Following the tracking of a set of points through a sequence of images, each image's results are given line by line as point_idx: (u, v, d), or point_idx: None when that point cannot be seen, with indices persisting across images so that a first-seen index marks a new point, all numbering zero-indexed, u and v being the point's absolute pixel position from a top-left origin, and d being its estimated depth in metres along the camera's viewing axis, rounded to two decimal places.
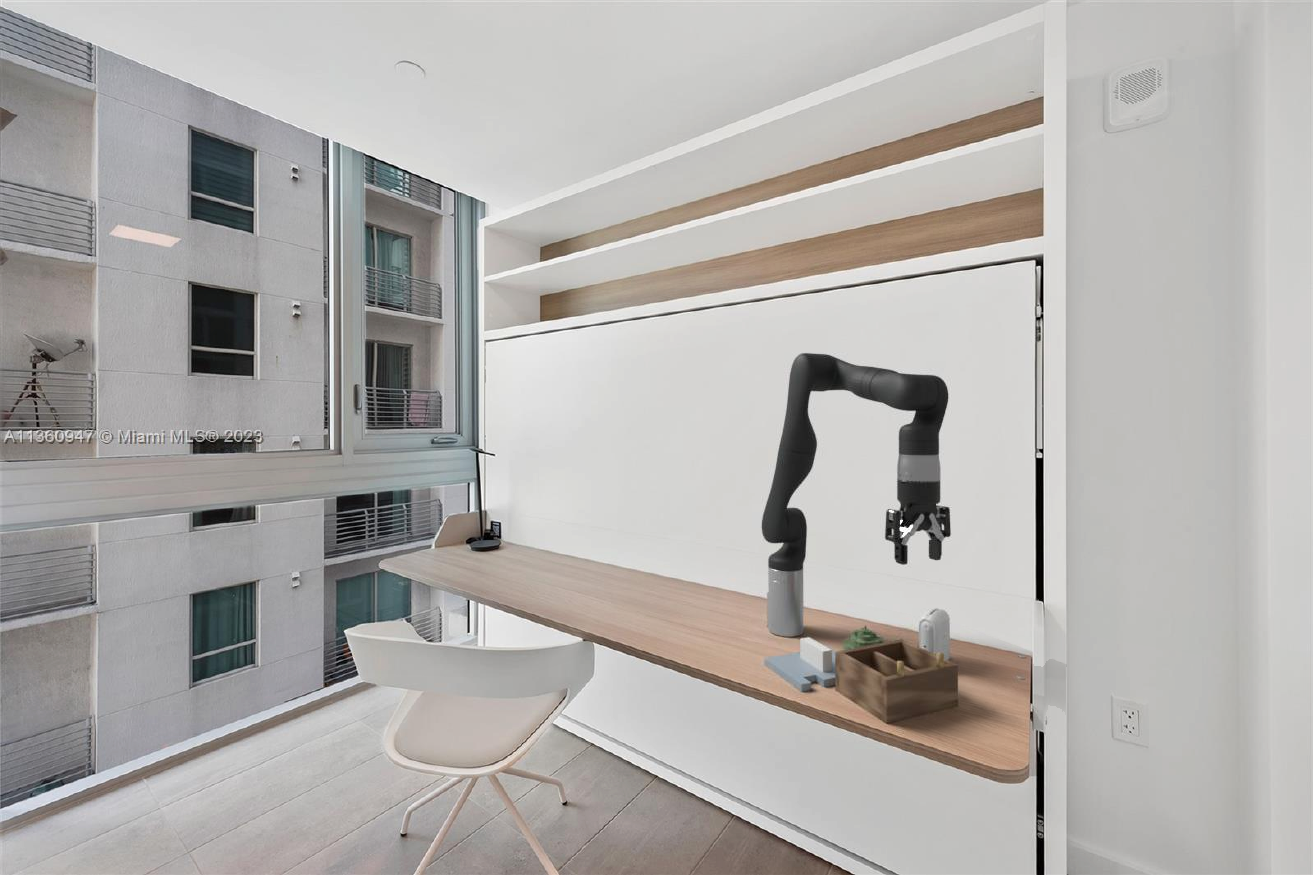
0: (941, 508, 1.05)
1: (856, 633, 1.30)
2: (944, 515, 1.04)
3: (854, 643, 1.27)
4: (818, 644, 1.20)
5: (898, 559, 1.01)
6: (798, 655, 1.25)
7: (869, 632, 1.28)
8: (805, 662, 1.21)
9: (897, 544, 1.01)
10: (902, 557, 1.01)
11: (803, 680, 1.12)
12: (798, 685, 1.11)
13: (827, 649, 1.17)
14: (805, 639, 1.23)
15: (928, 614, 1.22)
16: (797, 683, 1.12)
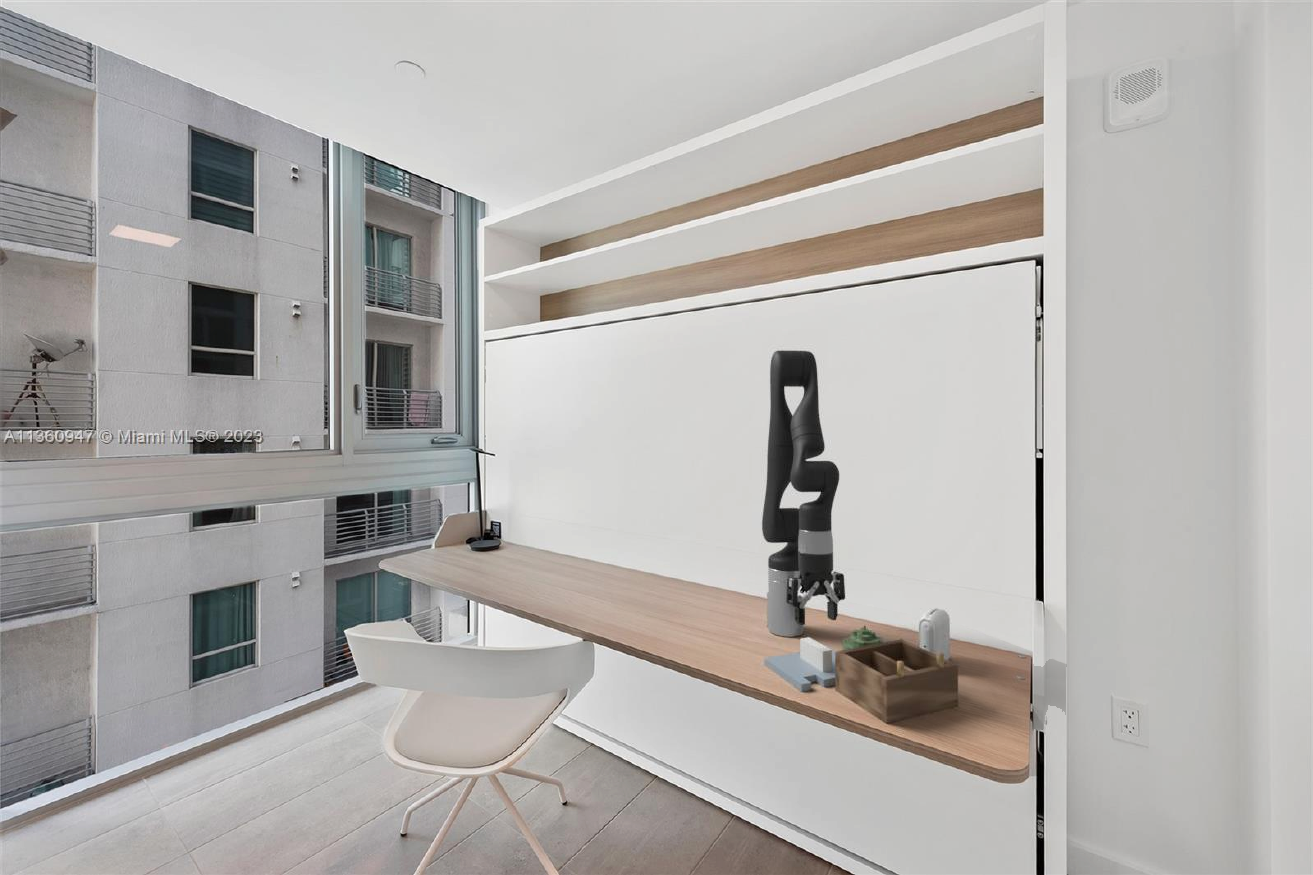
0: (837, 574, 1.22)
1: (855, 633, 1.30)
2: (839, 581, 1.21)
3: (853, 643, 1.27)
4: (818, 644, 1.20)
5: (797, 620, 1.18)
6: (798, 655, 1.25)
7: (868, 632, 1.28)
8: (805, 662, 1.21)
9: (796, 607, 1.18)
10: (801, 618, 1.18)
11: (803, 680, 1.12)
12: (798, 685, 1.11)
13: (827, 649, 1.17)
14: (805, 639, 1.23)
15: (928, 614, 1.22)
16: (797, 683, 1.12)
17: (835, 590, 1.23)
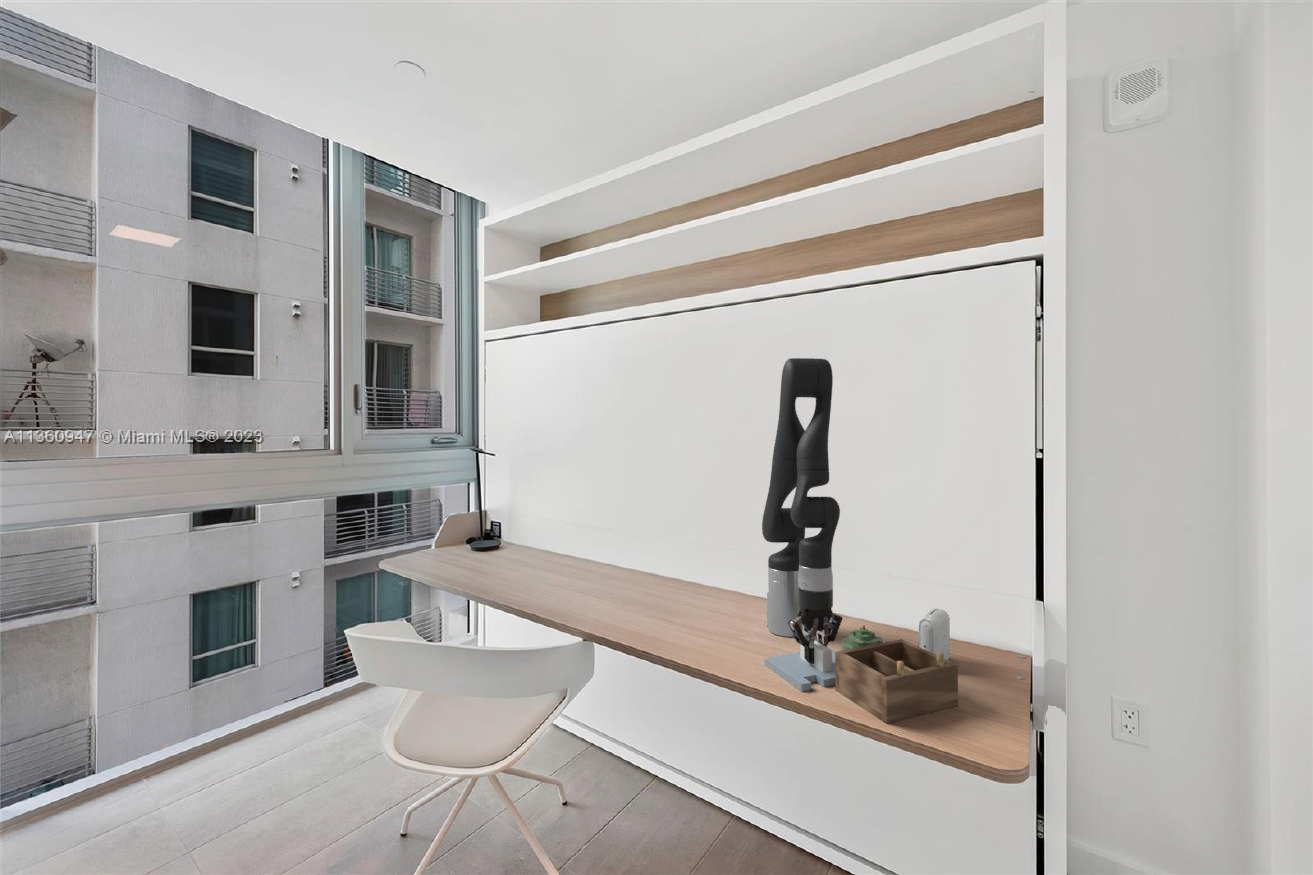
0: (836, 615, 1.22)
1: (854, 633, 1.30)
2: (836, 621, 1.21)
3: (852, 643, 1.27)
4: (818, 644, 1.20)
5: (807, 659, 1.19)
6: (798, 655, 1.25)
7: (867, 632, 1.28)
8: (805, 662, 1.21)
9: (806, 647, 1.19)
10: (810, 657, 1.19)
11: (803, 680, 1.12)
12: (798, 685, 1.11)
13: (827, 649, 1.17)
14: None
15: (928, 614, 1.22)
16: (797, 683, 1.12)
17: None
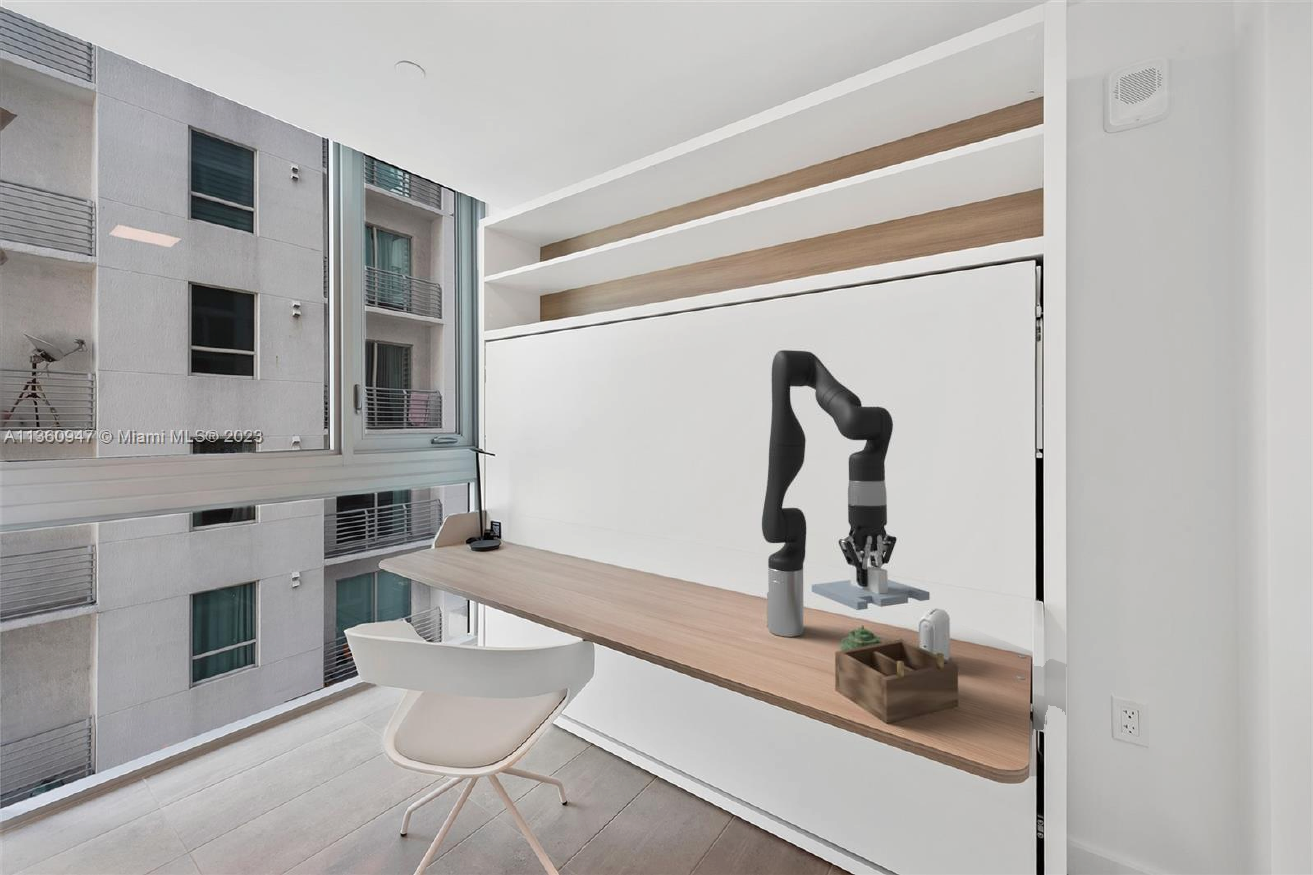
0: (889, 536, 1.13)
1: (853, 633, 1.30)
2: (889, 542, 1.12)
3: (851, 643, 1.27)
4: (871, 566, 1.11)
5: (859, 582, 1.10)
6: (848, 582, 1.16)
7: (866, 632, 1.28)
8: (857, 587, 1.12)
9: (858, 568, 1.10)
10: (863, 580, 1.10)
11: (858, 599, 1.03)
12: (853, 604, 1.02)
13: (882, 569, 1.08)
14: None
15: (928, 614, 1.22)
16: (852, 602, 1.03)
17: None
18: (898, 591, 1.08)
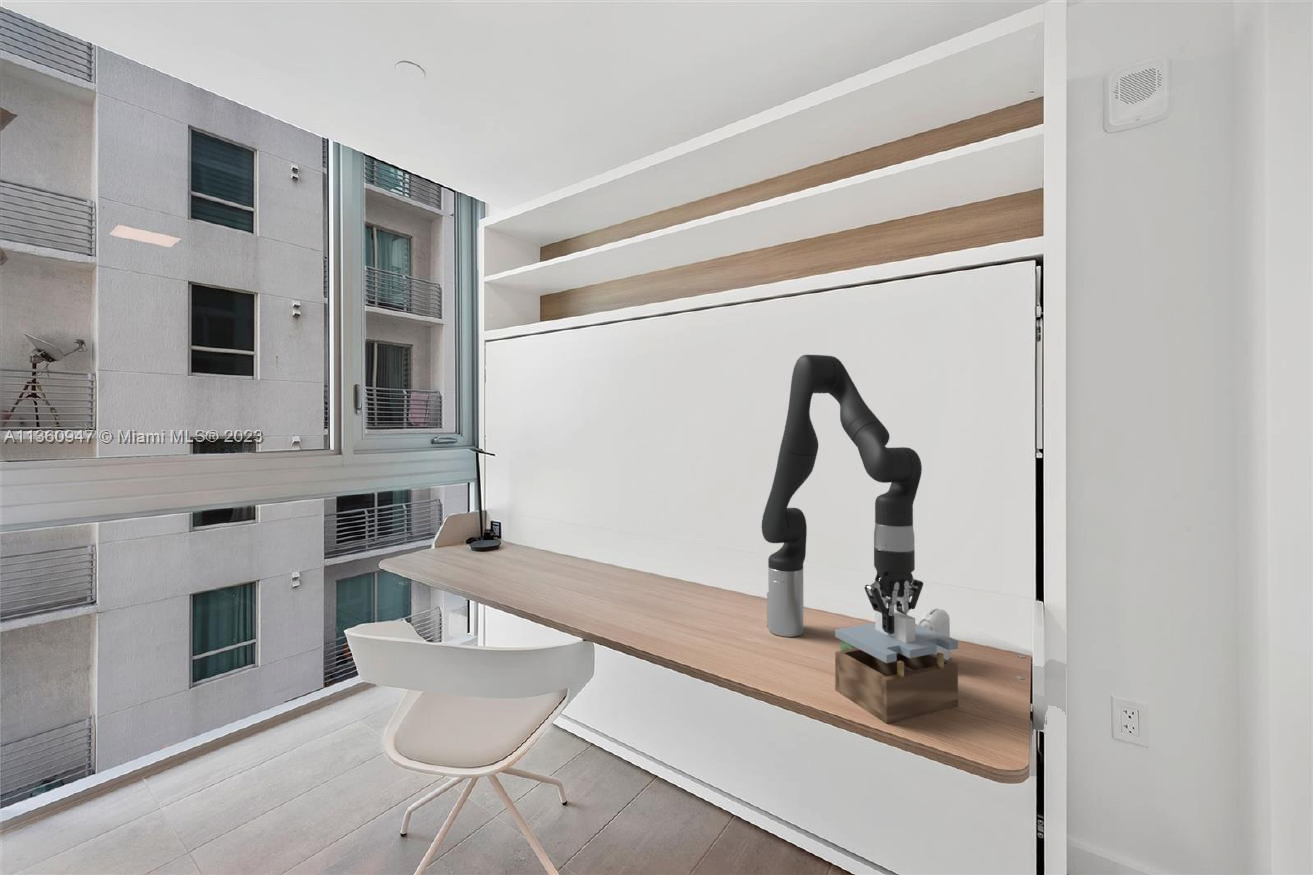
0: (916, 580, 1.09)
1: None
2: (916, 587, 1.08)
3: None
4: (898, 613, 1.08)
5: (885, 629, 1.07)
6: (872, 626, 1.13)
7: None
8: (882, 633, 1.09)
9: (884, 614, 1.07)
10: (890, 627, 1.06)
11: (886, 650, 1.00)
12: (882, 656, 0.99)
13: (910, 617, 1.05)
14: None
15: (928, 614, 1.22)
16: (881, 654, 0.99)
17: None
18: (926, 639, 1.05)
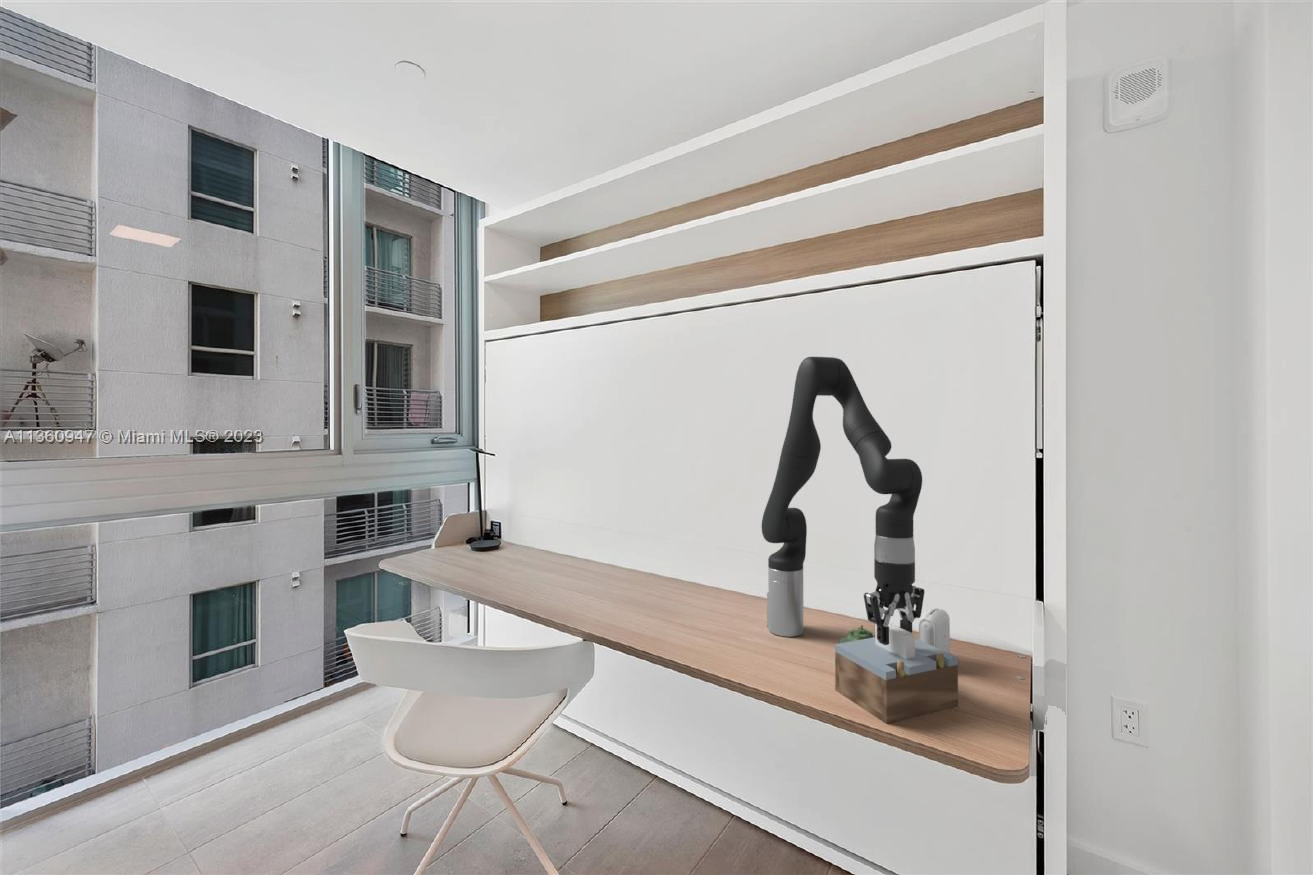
0: (917, 589, 1.09)
1: (852, 633, 1.30)
2: (918, 596, 1.08)
3: None
4: (898, 628, 1.08)
5: (880, 640, 1.06)
6: (872, 641, 1.13)
7: (865, 632, 1.28)
8: (882, 648, 1.09)
9: (879, 625, 1.06)
10: (884, 637, 1.06)
11: (886, 667, 1.00)
12: (881, 673, 0.99)
13: (909, 633, 1.05)
14: None
15: (928, 614, 1.22)
16: (880, 671, 0.99)
17: None
18: (925, 655, 1.05)
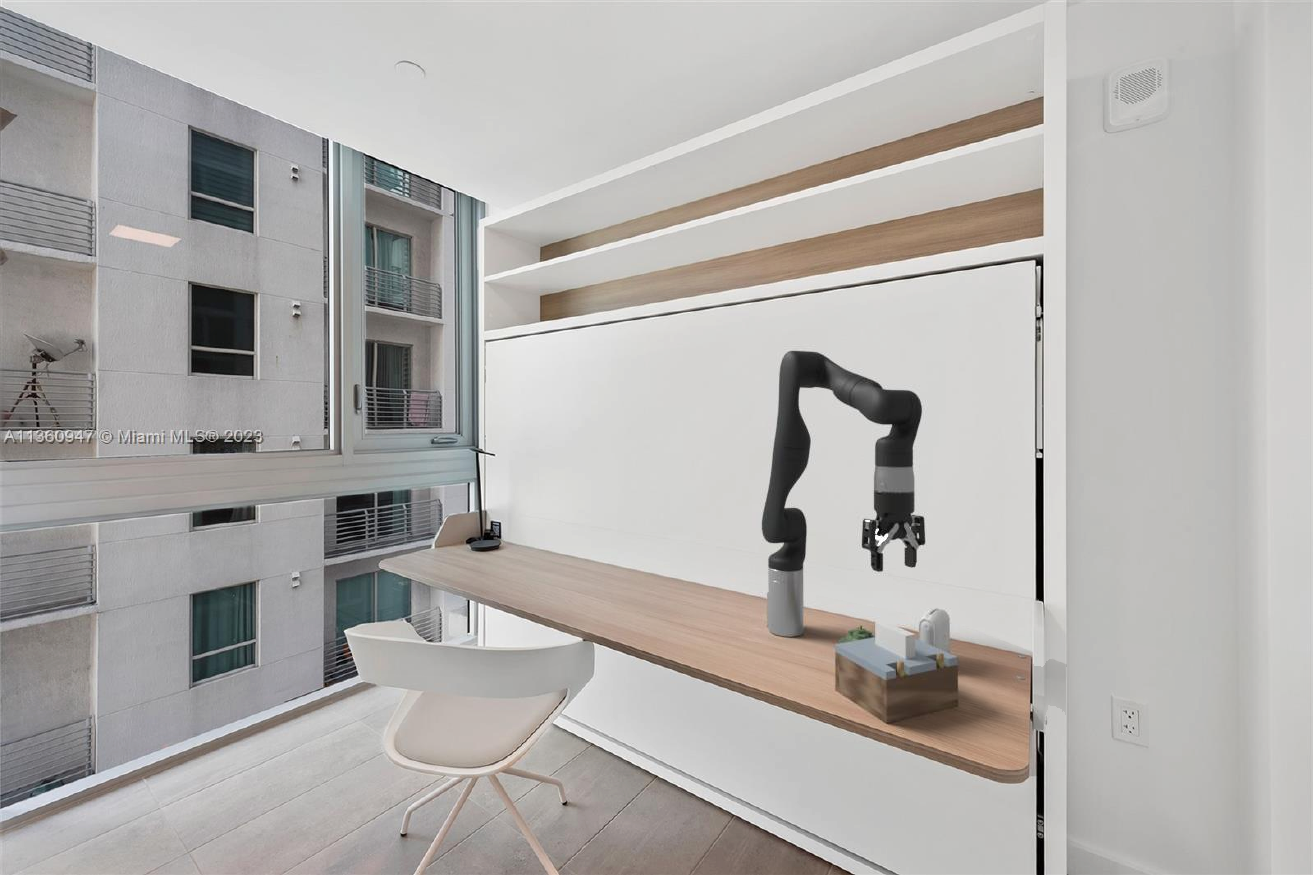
0: (916, 517, 1.09)
1: (852, 632, 1.30)
2: (919, 524, 1.09)
3: None
4: (898, 628, 1.08)
5: (874, 566, 1.06)
6: (872, 641, 1.13)
7: (865, 632, 1.28)
8: (882, 648, 1.09)
9: (873, 552, 1.06)
10: (878, 564, 1.06)
11: (886, 667, 1.00)
12: (881, 673, 0.99)
13: (909, 633, 1.05)
14: (881, 623, 1.11)
15: (928, 614, 1.22)
16: (880, 671, 0.99)
17: None
18: (925, 655, 1.05)
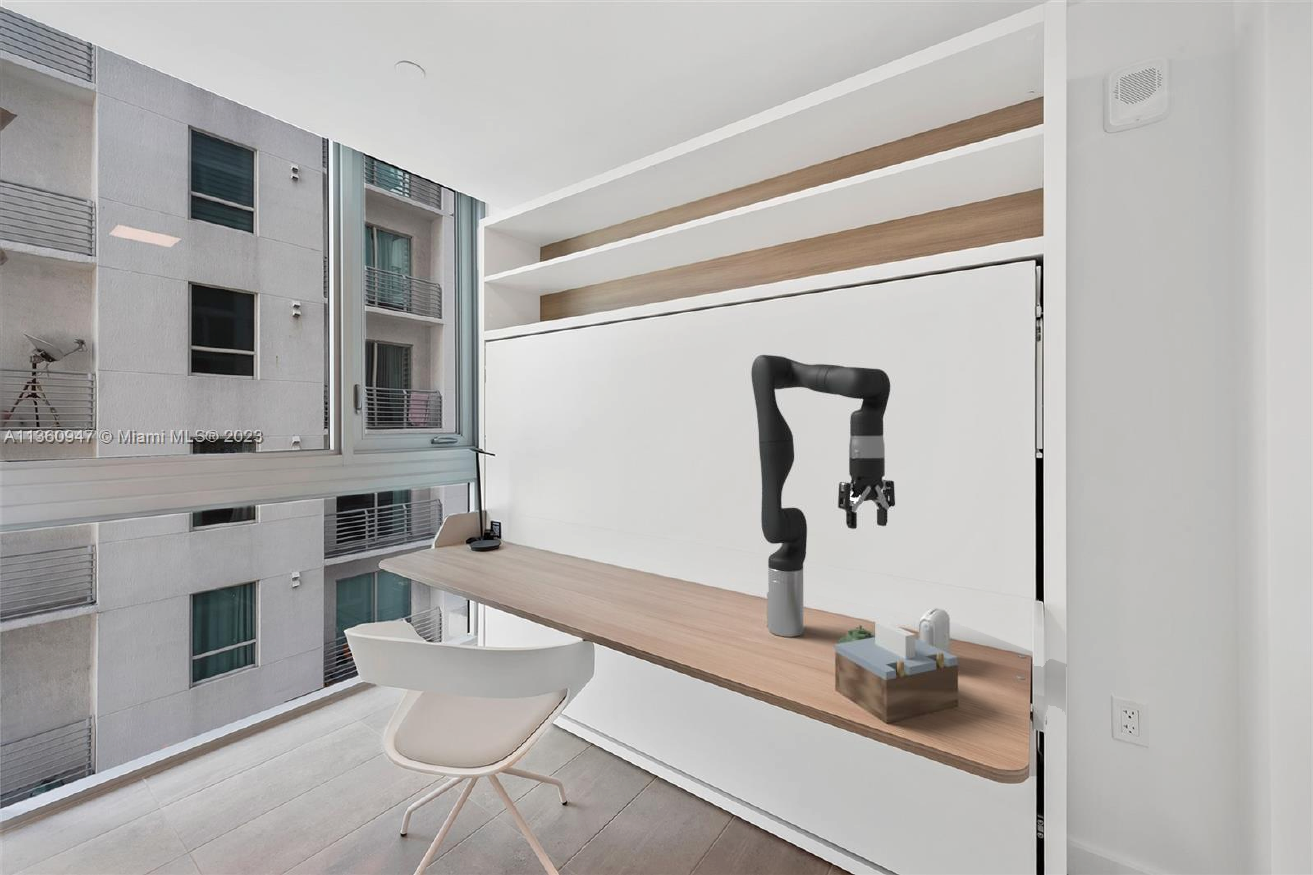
0: (887, 482, 1.23)
1: (851, 632, 1.30)
2: (889, 487, 1.22)
3: None
4: (898, 628, 1.08)
5: (849, 524, 1.20)
6: (872, 641, 1.13)
7: (864, 631, 1.29)
8: (882, 648, 1.09)
9: (848, 511, 1.19)
10: (852, 522, 1.19)
11: (886, 667, 1.00)
12: (881, 673, 0.99)
13: (909, 633, 1.05)
14: (881, 623, 1.11)
15: (928, 614, 1.22)
16: (880, 671, 0.99)
17: (884, 498, 1.25)
18: (925, 655, 1.05)
